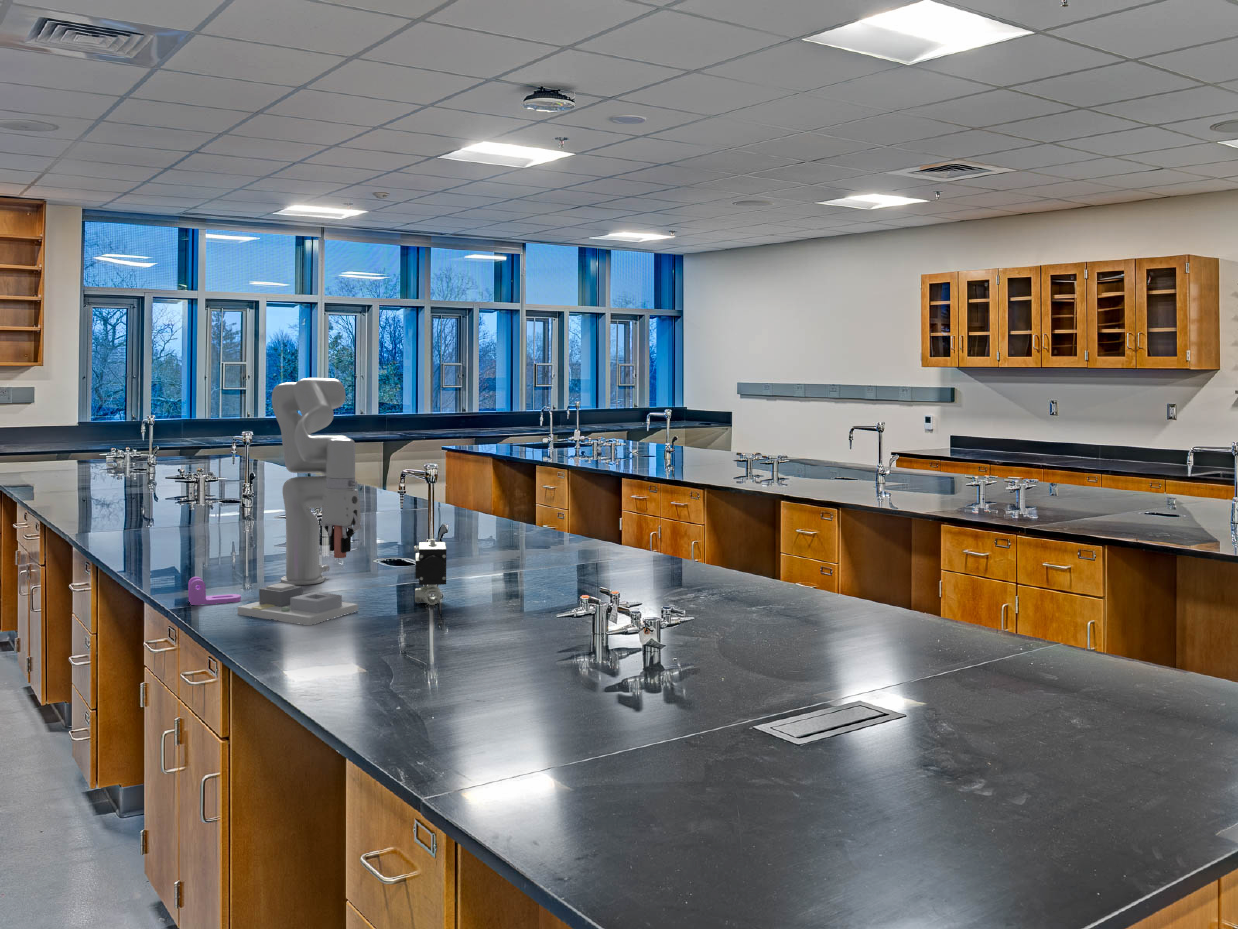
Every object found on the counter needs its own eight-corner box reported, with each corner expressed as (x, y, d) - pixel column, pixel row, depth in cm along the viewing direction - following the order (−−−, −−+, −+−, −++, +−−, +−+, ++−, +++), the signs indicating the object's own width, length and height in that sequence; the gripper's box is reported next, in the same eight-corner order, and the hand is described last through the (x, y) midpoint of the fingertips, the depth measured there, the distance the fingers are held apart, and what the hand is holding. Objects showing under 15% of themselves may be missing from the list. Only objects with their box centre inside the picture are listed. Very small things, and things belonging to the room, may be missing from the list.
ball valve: (414, 596, 287) (414, 534, 286) (444, 596, 289) (445, 534, 288) (413, 610, 270) (414, 544, 268) (446, 610, 271) (446, 544, 270)
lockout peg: (339, 555, 278) (339, 522, 277) (348, 556, 276) (349, 524, 275) (331, 557, 275) (331, 524, 274) (340, 558, 273) (341, 525, 272)
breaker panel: (288, 601, 278) (288, 579, 277) (357, 611, 267) (357, 589, 267) (237, 614, 261) (237, 591, 261) (309, 625, 251) (309, 601, 251)
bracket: (190, 606, 270) (190, 580, 269) (188, 602, 275) (188, 577, 274) (242, 602, 276) (242, 577, 275) (239, 598, 281) (238, 573, 280)
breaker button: (280, 597, 270) (280, 583, 270) (294, 599, 268) (294, 585, 268) (266, 601, 265) (266, 586, 265) (281, 603, 263) (281, 588, 263)
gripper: (374, 485, 273) (373, 552, 275) (326, 480, 280) (326, 546, 282) (355, 487, 267) (354, 556, 268) (307, 482, 274) (307, 550, 275)
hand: (340, 550), depth 275 cm, fingers closed on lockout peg, 3 cm apart
